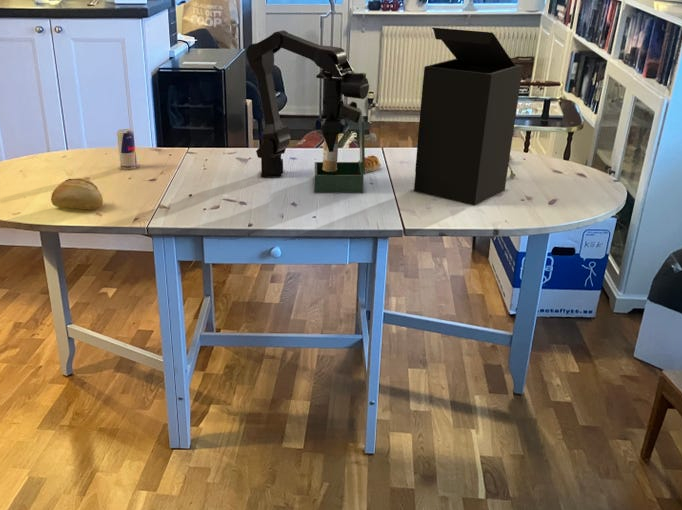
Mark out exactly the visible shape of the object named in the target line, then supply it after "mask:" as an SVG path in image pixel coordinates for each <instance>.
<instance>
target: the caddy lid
mask: <svg viewBox="0 0 682 510" xmlns="http://www.w3.org/2000/svg"><path fill="white" fill-rule="evenodd" d="M361 112H362V110H361ZM363 115H364V114H363V112H362V113H361V115H360V118H359V120H358V124H359V125H358V128H359V131H358V132H359V135H358V136H359V160H360V163H361V169H362V174H363V175H365V174H366V173H365V156H366V154H365V148H366V147H365V142H371V143H376V142H377V136H376V134H375V132H371V133H370V134H365V120H364V116H363Z"/></svg>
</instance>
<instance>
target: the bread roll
mask: <svg viewBox="0 0 682 510" xmlns="http://www.w3.org/2000/svg"><path fill="white" fill-rule="evenodd" d="M50 202H51V204H52V206H54V207H57V208H68V209H83V210H98V209H100V208H102V207H103V204H104V199H103V195H102V192H101V191H100V190H99V188H98V186H97V185H96V184H95V183H94V182H93V181H91V180H89V179H86V178H81V177H79V178H68V179H65V180H64V181H62V182H60V183H59V184H58V185H57V186H56V187H55V188H54V189H53V191H52V192H51V196H50Z"/></svg>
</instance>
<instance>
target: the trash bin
mask: <svg viewBox="0 0 682 510" xmlns="http://www.w3.org/2000/svg"><path fill="white" fill-rule="evenodd" d="M431 29H432V31H433V34H434V38H435V40H437V41H442V43H443V44H444V45H445V47H446V48H447V49H448V50H449V52H450V53H451V54H452V55H453V57H454V58H453V59H449V60H445V61H441V62H437V63H433V64H430V65H425V66H424V69H423V78H422V86H421V87H422V89H421V97H420V108H419V109H420V110H419V121H418V122H419V123H418V134H417V145H416V159H415V167H414V168H415V169H414V170H415V171H414V172H415V173H414V175H415V176H414V185H413V192H416V193H421V194H423V195H424V194H425V195H429V196H431V197H432V196H433V197H437V198H442V199H446V200H449V201H454V202H457V203H458V202H459V203H462V204H467V205H471V206H476V205H478V204H481V203H483V202H484V201H486V200H488V199H490V198H492V197H494V196H496V195H498V194H500V193H502V192H504V191H505V190H506V185H507V176H508V170H509V167H508V165H509V163H510V161H509V158H510V156H511V151H512V144H513V138H514V137H513V136H514V130H515V123H516V116H517V110H518V102H519V96H520V90H521V83H522V76H523V71H524V70H523V68H524V65H523V64H517V63H514V61H513V60H512V58H511V57H510V56H509V54H508V53H507V52H506V49H504V47H503V45H502V44H501V42H500V41H499V39H498V38H497V36H496V34H494V32H491V31H478V30H469V29H457V28H456V29H454V28H443V27H431Z"/></svg>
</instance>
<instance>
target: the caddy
mask: <svg viewBox="0 0 682 510" xmlns="http://www.w3.org/2000/svg"><path fill="white" fill-rule="evenodd" d="M322 168H323V161H315V162H314V193H315V194H316V193H317V194H323V193H324V194H336V193H337V194H363V193H364V177H365V174H362V169H361V163H360V162H358V161H337V170H336V171H334V172H326V171H324V170H323V169H322Z"/></svg>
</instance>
